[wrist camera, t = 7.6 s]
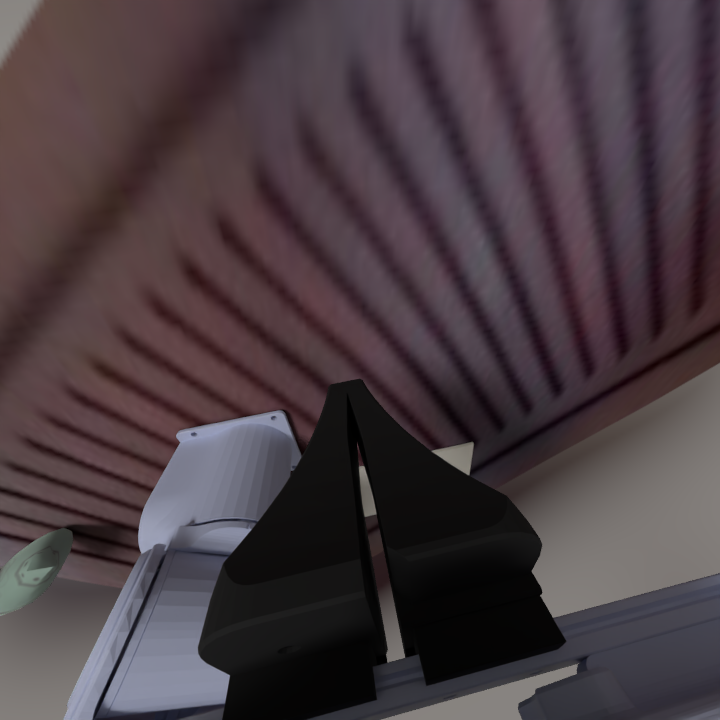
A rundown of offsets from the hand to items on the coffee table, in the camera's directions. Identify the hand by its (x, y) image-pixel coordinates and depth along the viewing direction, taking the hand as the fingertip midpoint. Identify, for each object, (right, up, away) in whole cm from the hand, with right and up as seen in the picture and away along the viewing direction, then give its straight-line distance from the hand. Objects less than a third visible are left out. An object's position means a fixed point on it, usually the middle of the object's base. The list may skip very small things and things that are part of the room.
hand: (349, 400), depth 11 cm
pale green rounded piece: (-31, -16, +16) cm, 38 cm away
